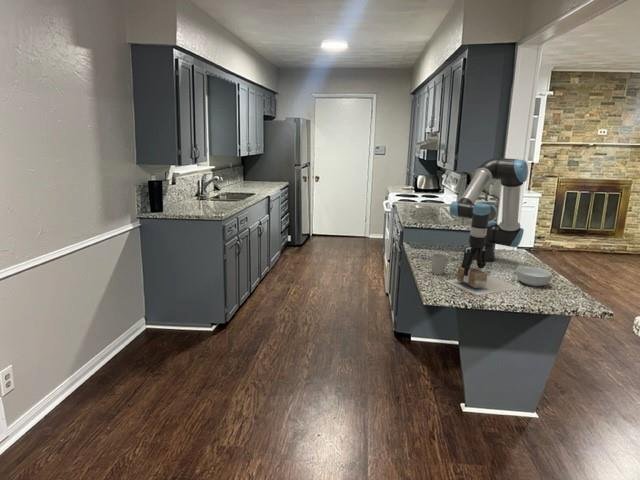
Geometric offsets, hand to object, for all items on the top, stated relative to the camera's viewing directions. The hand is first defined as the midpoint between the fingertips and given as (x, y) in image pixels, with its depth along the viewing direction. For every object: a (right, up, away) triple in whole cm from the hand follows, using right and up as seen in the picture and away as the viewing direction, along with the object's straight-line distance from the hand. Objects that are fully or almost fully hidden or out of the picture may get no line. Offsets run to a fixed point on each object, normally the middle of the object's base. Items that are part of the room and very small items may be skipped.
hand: (471, 280), depth 221 cm
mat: (+7, -2, +5) cm, 8 cm away
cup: (-12, +2, +19) cm, 22 cm away
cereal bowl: (+35, -3, +10) cm, 36 cm away
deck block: (0, -1, 0) cm, 1 cm away
